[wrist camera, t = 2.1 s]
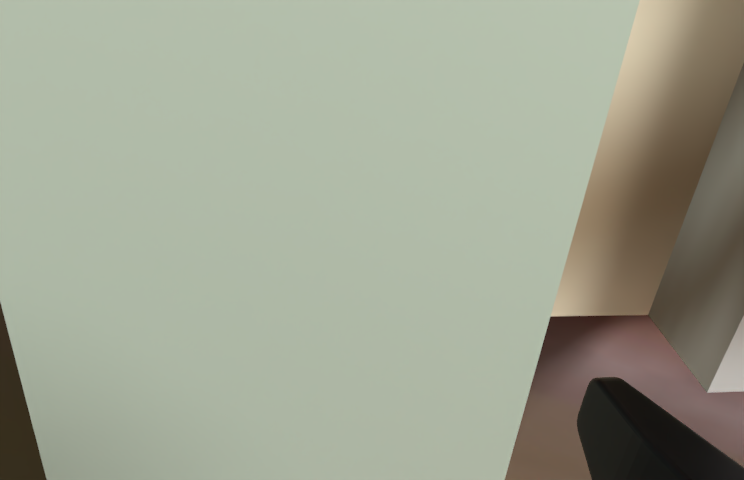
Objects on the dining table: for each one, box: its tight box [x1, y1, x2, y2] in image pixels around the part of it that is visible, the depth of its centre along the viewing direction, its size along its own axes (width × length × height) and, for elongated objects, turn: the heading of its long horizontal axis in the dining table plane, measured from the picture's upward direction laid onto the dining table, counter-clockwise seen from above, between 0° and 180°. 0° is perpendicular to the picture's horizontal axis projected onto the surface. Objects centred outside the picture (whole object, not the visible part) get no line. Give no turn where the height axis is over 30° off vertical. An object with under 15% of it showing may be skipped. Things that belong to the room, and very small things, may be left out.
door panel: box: [0, 0, 640, 480], centre depth 11 cm, size 14×4×9 cm, turn 175°
